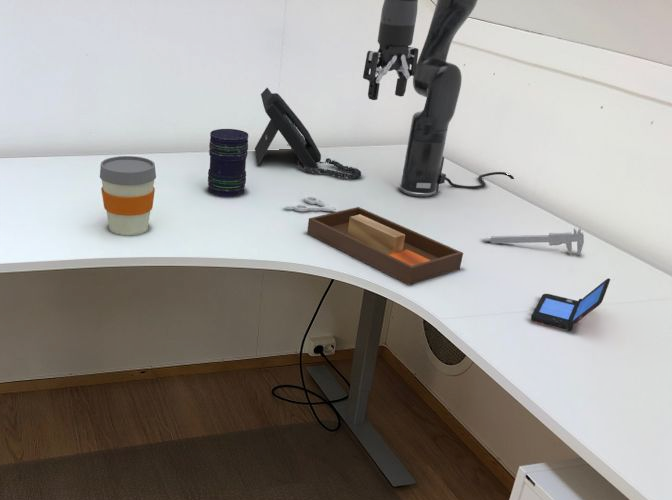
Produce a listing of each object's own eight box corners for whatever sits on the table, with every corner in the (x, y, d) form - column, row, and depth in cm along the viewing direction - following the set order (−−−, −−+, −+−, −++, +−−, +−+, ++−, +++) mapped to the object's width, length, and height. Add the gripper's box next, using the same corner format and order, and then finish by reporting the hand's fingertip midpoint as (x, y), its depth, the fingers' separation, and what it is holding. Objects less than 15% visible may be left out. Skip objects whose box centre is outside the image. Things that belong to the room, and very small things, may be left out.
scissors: (302, 194, 204) (377, 209, 196) (302, 197, 204) (376, 212, 196) (285, 206, 196) (362, 222, 188) (285, 209, 196) (361, 225, 188)
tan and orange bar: (361, 231, 183) (364, 213, 181) (434, 265, 168) (438, 246, 165) (342, 236, 180) (345, 217, 178) (415, 271, 165) (418, 251, 163)
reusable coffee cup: (131, 214, 191) (130, 152, 183) (166, 229, 183) (167, 165, 175) (90, 226, 183) (87, 162, 175) (125, 242, 175) (124, 176, 168)
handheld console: (541, 297, 158) (551, 263, 154) (599, 312, 153) (611, 277, 149) (528, 321, 149) (538, 286, 145) (590, 338, 144) (602, 301, 140)
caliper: (579, 254, 178) (587, 228, 174) (579, 256, 177) (587, 230, 174) (484, 240, 183) (490, 215, 180) (484, 242, 182) (490, 216, 179)
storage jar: (201, 193, 205) (203, 135, 197) (215, 182, 213) (217, 126, 205) (237, 199, 202) (241, 141, 194) (250, 188, 209) (254, 131, 202)
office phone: (362, 180, 218) (373, 106, 208) (260, 177, 218) (265, 102, 207) (346, 150, 243) (355, 82, 233) (254, 146, 243) (259, 78, 233)
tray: (356, 221, 191) (358, 206, 189) (459, 269, 169) (463, 252, 167) (306, 233, 183) (308, 218, 181) (408, 285, 161) (411, 268, 159)
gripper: (387, 25, 167) (375, 104, 175) (433, 22, 173) (420, 98, 182) (361, 20, 172) (351, 97, 180) (407, 17, 179) (396, 91, 187)
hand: (386, 97), depth 181 cm, fingers open, 8 cm apart
